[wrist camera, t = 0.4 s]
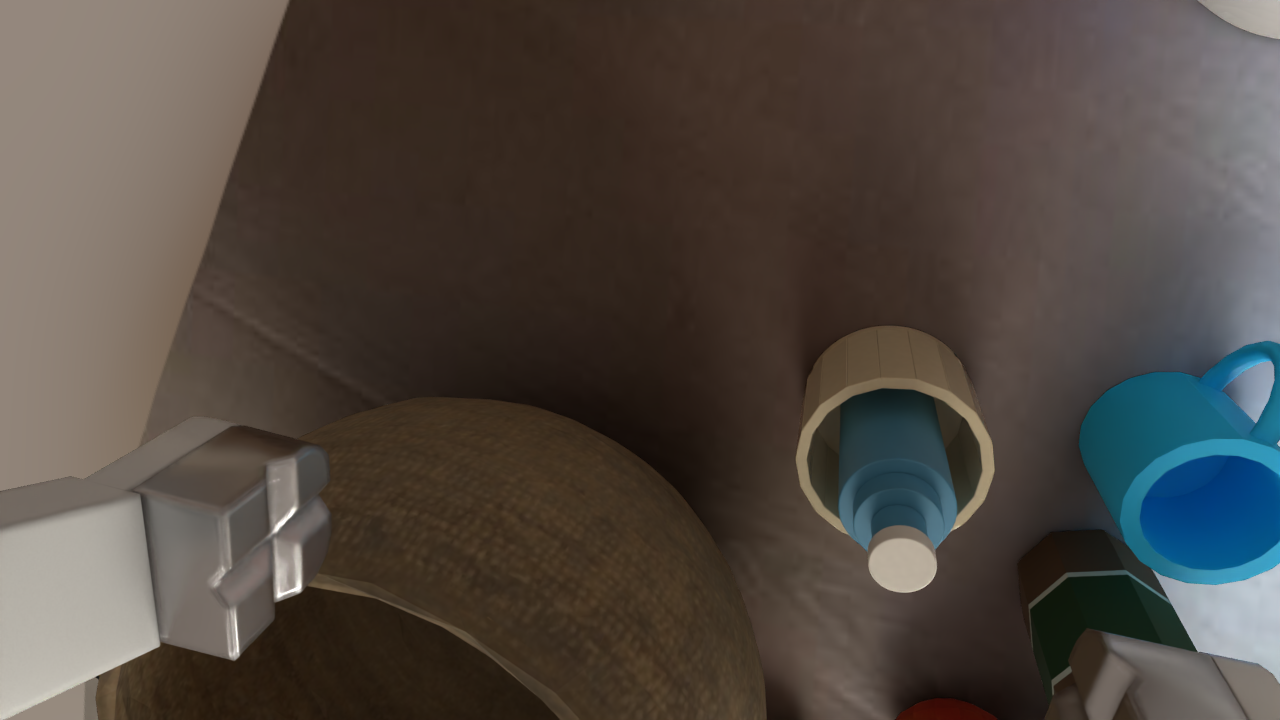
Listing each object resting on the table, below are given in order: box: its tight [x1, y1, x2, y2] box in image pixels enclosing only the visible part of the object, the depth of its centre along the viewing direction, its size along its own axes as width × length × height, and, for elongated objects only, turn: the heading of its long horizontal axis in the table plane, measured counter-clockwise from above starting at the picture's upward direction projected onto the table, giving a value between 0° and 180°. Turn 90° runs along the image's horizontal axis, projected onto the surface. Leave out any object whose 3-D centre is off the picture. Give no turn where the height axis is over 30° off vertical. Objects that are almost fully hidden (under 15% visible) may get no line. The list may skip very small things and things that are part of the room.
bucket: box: [795, 326, 995, 535], centre depth 47 cm, size 10×10×8 cm
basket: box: [96, 397, 767, 720], centre depth 49 cm, size 35×35×25 cm
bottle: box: [838, 388, 957, 593], centre depth 42 cm, size 5×5×16 cm
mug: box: [1079, 341, 1280, 585], centre depth 43 cm, size 12×8×8 cm
